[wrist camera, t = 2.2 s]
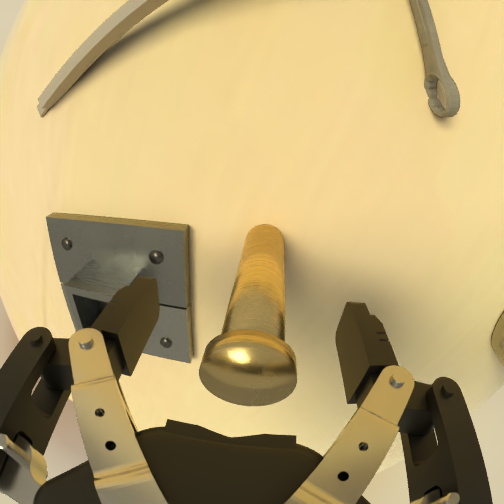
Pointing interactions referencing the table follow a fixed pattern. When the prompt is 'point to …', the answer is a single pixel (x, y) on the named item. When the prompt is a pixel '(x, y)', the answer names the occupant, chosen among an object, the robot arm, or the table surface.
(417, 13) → the combination wrench
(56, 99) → the caliper
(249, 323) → the pin
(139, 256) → the square socket plate
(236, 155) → the table surface
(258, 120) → the table surface
